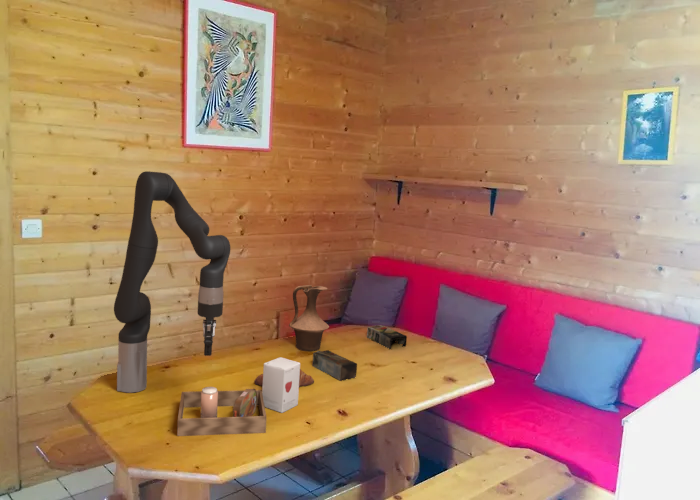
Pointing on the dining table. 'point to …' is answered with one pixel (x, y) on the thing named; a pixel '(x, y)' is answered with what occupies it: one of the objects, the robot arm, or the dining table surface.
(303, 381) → the pastry
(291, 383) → the supplement box
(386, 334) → the dark slotted box
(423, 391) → the dining table surface
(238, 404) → the tin
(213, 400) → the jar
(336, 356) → the beverage carton
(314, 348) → the pitcher
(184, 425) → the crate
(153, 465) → the dining table surface
